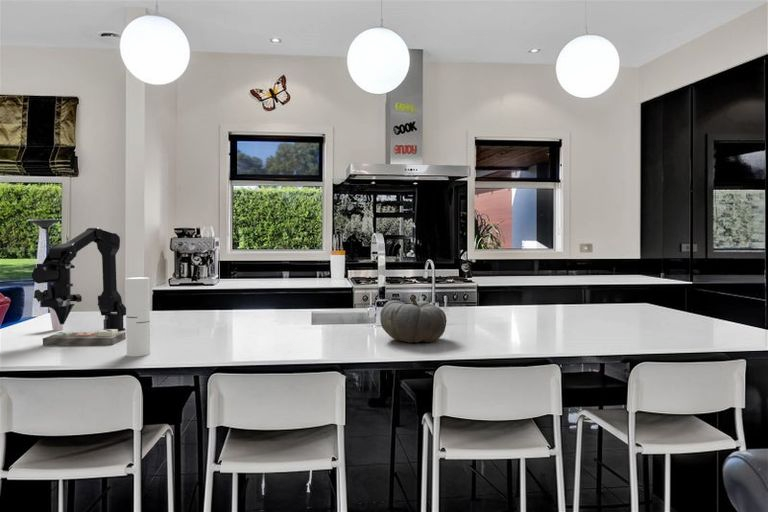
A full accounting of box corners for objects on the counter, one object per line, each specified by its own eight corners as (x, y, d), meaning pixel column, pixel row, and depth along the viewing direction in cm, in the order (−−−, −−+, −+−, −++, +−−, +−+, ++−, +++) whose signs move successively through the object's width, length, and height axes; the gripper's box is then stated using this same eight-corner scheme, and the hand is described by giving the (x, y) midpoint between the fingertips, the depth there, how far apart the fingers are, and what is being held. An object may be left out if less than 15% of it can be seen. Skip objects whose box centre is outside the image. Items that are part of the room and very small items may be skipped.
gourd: (363, 333, 215) (372, 287, 215) (406, 335, 233) (414, 293, 234) (413, 349, 198) (423, 299, 198) (455, 351, 216) (464, 305, 216)
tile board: (42, 345, 204) (42, 338, 203) (59, 339, 216) (59, 332, 215) (112, 344, 205) (112, 337, 205) (125, 338, 217) (125, 332, 217)
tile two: (52, 343, 207) (52, 334, 207) (59, 341, 212) (58, 331, 212) (66, 343, 207) (66, 334, 207) (73, 340, 212) (73, 331, 212)
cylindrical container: (131, 352, 192) (130, 277, 192) (153, 351, 193) (152, 277, 192) (123, 356, 185) (122, 279, 184) (146, 356, 186) (145, 278, 185)
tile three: (98, 340, 208) (97, 331, 208) (103, 337, 213) (103, 328, 213) (112, 340, 208) (112, 330, 208) (117, 337, 213) (117, 328, 213)
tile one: (75, 343, 208) (75, 334, 208) (81, 340, 213) (81, 331, 213) (89, 343, 208) (89, 333, 208) (95, 340, 213) (95, 331, 213)
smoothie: (58, 331, 233) (58, 296, 233) (45, 330, 235) (44, 296, 234) (70, 328, 240) (69, 295, 239) (57, 328, 241) (56, 294, 240)
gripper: (51, 279, 218) (52, 320, 218) (23, 283, 199) (24, 328, 200) (82, 279, 218) (82, 320, 219) (57, 283, 200) (58, 328, 200)
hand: (62, 324), depth 209 cm, fingers closed
